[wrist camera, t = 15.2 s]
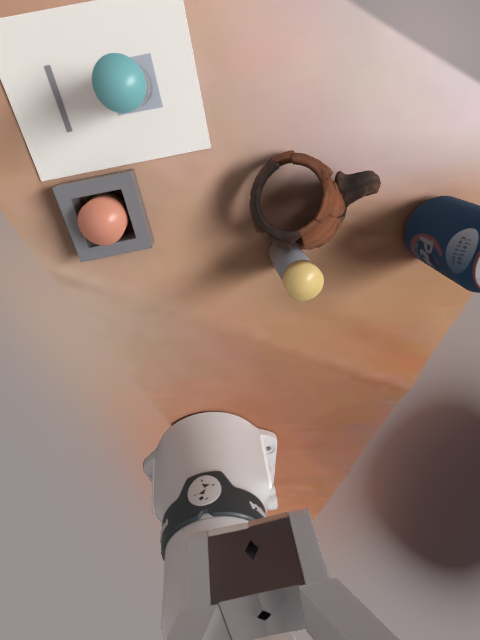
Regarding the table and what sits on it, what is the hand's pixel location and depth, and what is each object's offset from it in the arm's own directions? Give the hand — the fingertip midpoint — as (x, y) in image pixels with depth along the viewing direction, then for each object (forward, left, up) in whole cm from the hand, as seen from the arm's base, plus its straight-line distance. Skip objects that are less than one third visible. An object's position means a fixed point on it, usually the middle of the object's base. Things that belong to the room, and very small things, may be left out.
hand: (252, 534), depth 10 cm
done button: (+2, +9, -34) cm, 35 cm away
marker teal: (+12, +4, -34) cm, 36 cm away
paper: (+12, +6, -34) cm, 37 cm away
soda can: (-6, -24, -34) cm, 42 cm away
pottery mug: (0, -10, -34) cm, 36 cm away
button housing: (+2, +9, -34) cm, 35 cm away
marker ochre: (-6, -8, -34) cm, 35 cm away
